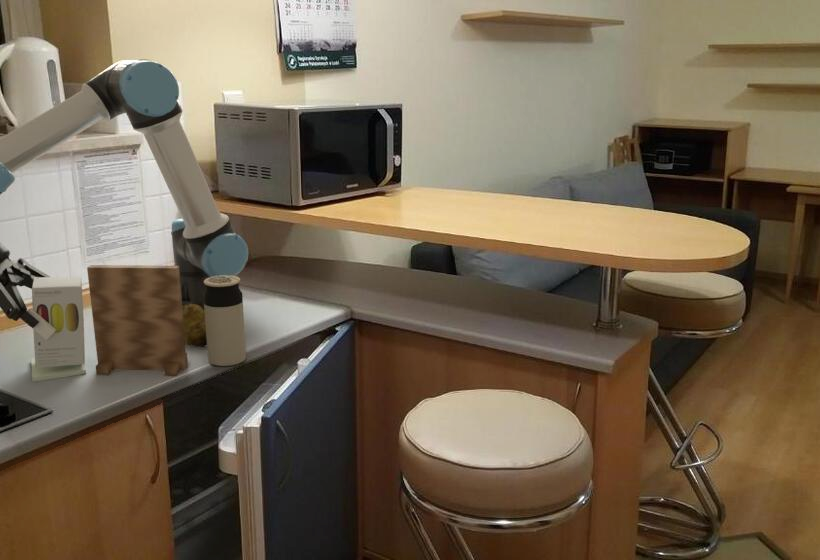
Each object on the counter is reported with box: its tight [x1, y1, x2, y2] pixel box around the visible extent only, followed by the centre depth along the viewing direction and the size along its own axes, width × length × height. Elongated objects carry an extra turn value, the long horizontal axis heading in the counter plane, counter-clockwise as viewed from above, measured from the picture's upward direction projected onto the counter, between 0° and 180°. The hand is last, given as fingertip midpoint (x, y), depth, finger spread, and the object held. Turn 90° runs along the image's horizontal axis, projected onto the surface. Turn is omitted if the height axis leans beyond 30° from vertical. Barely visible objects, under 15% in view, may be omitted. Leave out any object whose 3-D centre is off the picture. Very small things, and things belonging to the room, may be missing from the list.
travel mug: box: [204, 275, 247, 367], centre depth 167 cm, size 8×8×18 cm
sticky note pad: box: [30, 357, 87, 383], centre depth 165 cm, size 10×12×1 cm
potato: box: [182, 304, 207, 348], centre depth 180 cm, size 8×13×8 cm, turn 16°
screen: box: [86, 264, 188, 377], centre depth 162 cm, size 18×8×22 cm, turn 89°
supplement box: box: [31, 275, 86, 368], centre depth 163 cm, size 10×9×17 cm
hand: (65, 325), depth 163 cm, fingers closed on supplement box, 12 cm apart
